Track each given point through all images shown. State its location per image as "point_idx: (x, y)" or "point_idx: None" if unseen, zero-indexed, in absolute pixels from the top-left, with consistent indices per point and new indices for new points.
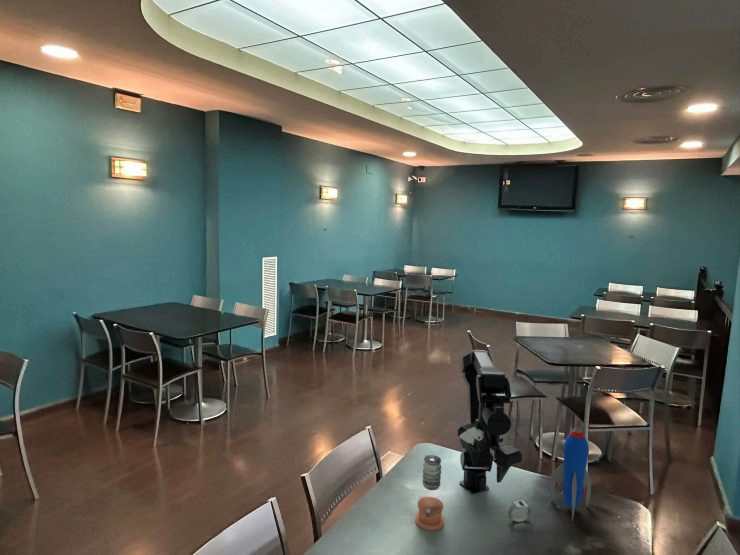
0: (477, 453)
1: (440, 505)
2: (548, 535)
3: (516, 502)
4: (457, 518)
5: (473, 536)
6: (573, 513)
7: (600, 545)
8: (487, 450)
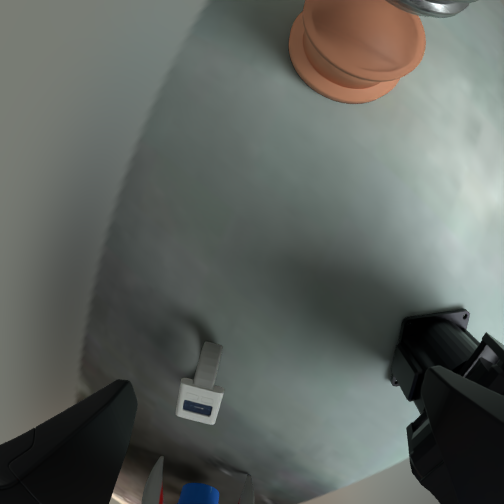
0: (464, 467)
1: (342, 51)
2: None
3: (209, 400)
4: (320, 161)
5: (200, 151)
6: (151, 471)
7: None
8: (448, 493)
